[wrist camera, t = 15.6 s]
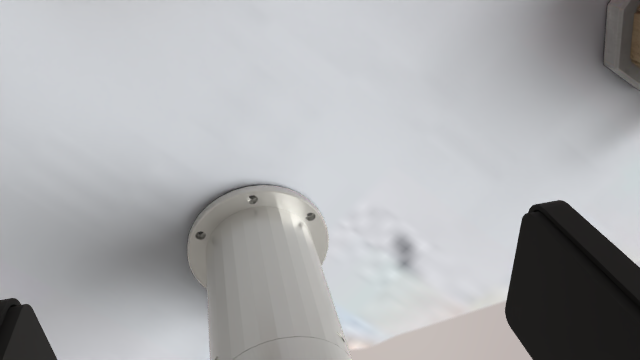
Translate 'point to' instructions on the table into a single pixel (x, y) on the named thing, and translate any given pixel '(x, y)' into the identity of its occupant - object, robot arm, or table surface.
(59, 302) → the table surface
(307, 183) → the table surface
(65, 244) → the table surface
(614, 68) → the mortar and pestle
